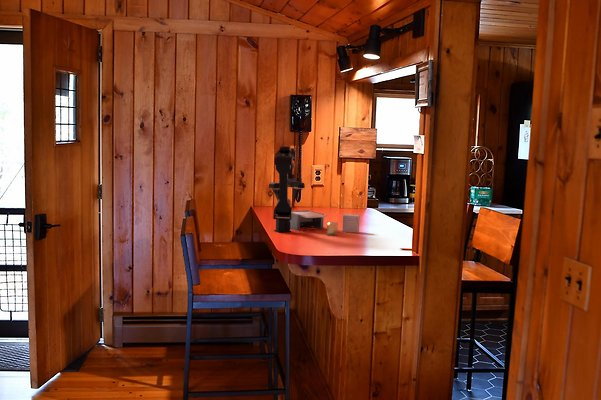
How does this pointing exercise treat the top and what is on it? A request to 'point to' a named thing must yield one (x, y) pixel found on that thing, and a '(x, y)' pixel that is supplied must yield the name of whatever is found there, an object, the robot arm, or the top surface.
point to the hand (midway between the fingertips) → (286, 201)
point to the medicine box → (350, 223)
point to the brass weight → (332, 228)
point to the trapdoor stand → (296, 222)
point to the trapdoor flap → (308, 216)
